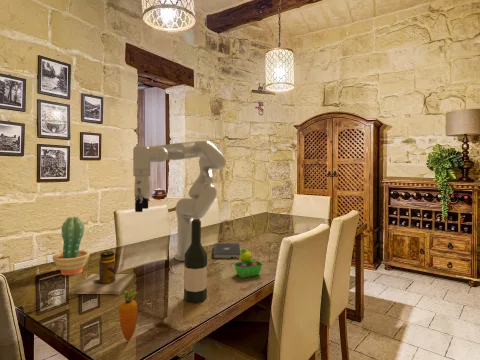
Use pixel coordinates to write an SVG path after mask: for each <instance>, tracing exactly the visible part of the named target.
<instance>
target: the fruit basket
mask: <svg viewBox="0 0 480 360" xmlns="http://www.w3.org/2000/svg"><path fill="white" fill-rule="evenodd" d="M252 256H253V255H252V253H251V252H250V251H249V250H248V249H246V248H242V249H241V250H240V256H239V260H240V261H238V262H234V263H233V265H234V267H235V271H236V275H238V276H239V277H241V278H247V277H253V276H260V273H261V269H262V267H263V263H261V262H260V261H258V260H256V259H252V258H253V257H252Z"/></svg>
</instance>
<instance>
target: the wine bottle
mask: <svg viewBox="0 0 480 360" xmlns="http://www.w3.org/2000/svg"><path fill="white" fill-rule="evenodd" d="M201 233H202V221H201V218H194V219H193V221H192V233H191V245H190V246H189V248H188V250H187V251H186V253H185V261H184V263H183V264H184V266H183V267H184V269H183V270H184V271H183V272H184V273H183V274H184V277H183V279H184V281H183V283H184V285H183V286H184V287H183V288H184V289H183V291H184V294H183V299H184V300H185V302H186V303H190V304H197V303H204V302H205V300H207V297H208V295H207V294H208V293H207V292H208V288H207V287H208V252H207V251H206V250H205V248H204V247H203V244H202V243H201V241H202V237H201V236H202V234H201Z"/></svg>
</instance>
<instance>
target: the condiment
mask: <svg viewBox="0 0 480 360" xmlns="http://www.w3.org/2000/svg"><path fill="white" fill-rule="evenodd" d="M99 255H100V259H99V260H98V261H99V264H98V265H99V267H98V268H99V271H98V272H99V273H98V274H99V276H100V279H98V280H92V281H93V283H94V285H95V287H97V286H102V285H109V284H114V283H118V282H117V280H116V279H115V274H117V273H116V258H115V252H114V251H111V250H110V251H102V252H101V253H100V254H99Z"/></svg>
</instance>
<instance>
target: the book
mask: <svg viewBox="0 0 480 360" xmlns="http://www.w3.org/2000/svg"><path fill="white" fill-rule="evenodd" d="M240 248H241V247H240V243H221V242H220V243H218V242H214V246H213V252H212V259H239V258H240V256H239V255H241V250H240ZM231 257H233V258H231ZM234 257H236V258H234ZM238 257H239V258H238Z"/></svg>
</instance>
